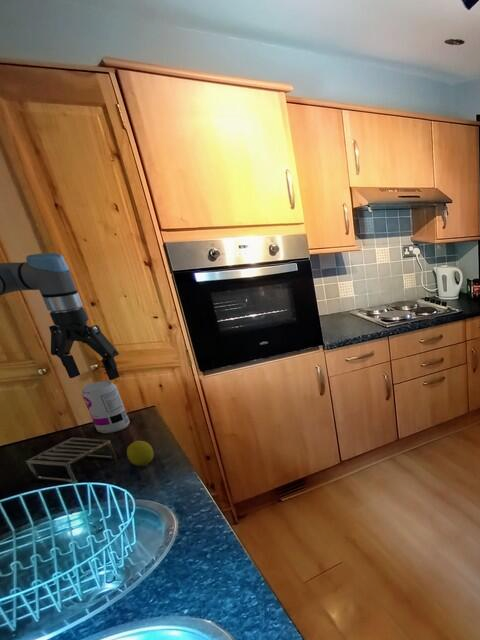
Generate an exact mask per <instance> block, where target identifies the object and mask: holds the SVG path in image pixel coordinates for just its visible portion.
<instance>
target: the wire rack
mask: <svg viewBox="0 0 480 640" xmlns="http://www.w3.org/2000/svg"><path fill="white" fill-rule="evenodd" d="M105 446H106V447H107V450H108V453H109V455H101V454H92V453H94V452H96V451H98V450H100V449H101V448H103V447H105ZM85 458H93V459H94V458H95V459H107V460H112V462H113V464H117V463H119V459H118V457H117V455H116V452H115V450H114V446H113V445H112V440H111V439H99V438H85V437H73V436H72V437H70V438H68V439H66V440H64V441H62V442H60V443H58V444H56V445H54V446H52V447H50V448H48V449H46V450H44V451H42V452H40V453H39V454H37V455H34V456H32V457H31V458H29V459H26V460H25V461H24V462H25V464H27V466H28V468H29V470H30V472H31V473H32V476H33V478H34V479H35V481H36V482H37V481H51V482H62V483H63V482H64V483H72V484H73V483H76V484H78V483H79V479H78V477H77V476H76V473H75V472H74V469H73V466H72V464H74V463H76V462H78V461H83V460H84V459H85ZM36 465H48V466H59V467H65V469H66V472H67V473H68V475H69V477H70V478H61V477H52V476H51V477H50V476H49V477H48V476H41V475H40V473H39V471H38V469H37V467H36Z"/></svg>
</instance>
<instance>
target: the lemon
mask: <svg viewBox="0 0 480 640" xmlns="http://www.w3.org/2000/svg"><path fill="white" fill-rule="evenodd" d="M154 455H155V454H154V449H153V447H152V445H151V444H150V443H148V442H147V441H145V440H134V441H133V442H132V443H130V444H129V445H128V446H127V449H126V456H127V459H128V461H129V462H130V463H131V464H133V465H134V466H142V467H146V466H147V465H148V464H149V463H151V462H152V460H153V459H154Z"/></svg>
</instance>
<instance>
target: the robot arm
mask: <svg viewBox="0 0 480 640" xmlns="http://www.w3.org/2000/svg"><path fill="white" fill-rule="evenodd" d="M25 260H26V261H23V262H0V296H3V295H6V294H10V293H14V292H19V291H20V292H21V291H39V293H40V295H41V296H42V300H43V302H44V304H45V307H46V309H47V311H49V316H50V318H51V321H52V322H53V324H52V325H49V327H48V328H49V331H50V354H51V355H52V356H57V357H58V358H59V359H60V361H61V363H62V366H63V367H64V368H65V371H66V373H67V375H68V378H69V379H73V378H76V377H79V376H81V372H80V370H79V368H78V366H77V363H76V361H75V359H74V356H73V355H72V353H71V350H72V348H73V345H74V342H81V343H83V344H86V345H87V346H88V347H90V348H91V349H92V350H93V351H94V352H95V353H97V355H99V356H100V357H101V358H102V359H101V363H102V365H103V368H104V370H105V373H106V375H107V377H108V381H113V380H115V379H118V378H120V373H119V371H118V368H117V367H118V364H117V363H116V360H115V357H118V356H119V355H120V352H119V351H118V349H116V348H115V347H114V345H113V344H112V343H111V341H109V339H108V338H107V337H106V336H105V334H104V333H103V332H102V330H101V328H100V326H99V325H98V324H95V325H91V326H89V325H88V323H87V322H88V321H89V316H88V314H87V311H86V309H85V308H84V307H83V306H84V304H83V301H82V299H81V297H80V294H79V292H78V289H77V287H76V284H75V282H74V279H73V276H72V273H71V269H70V267H69V266H68V264H67V262H66V260H65V257H64V256H63V254H60V253H56V252H47V253H33V254H28V255H26V256H25Z"/></svg>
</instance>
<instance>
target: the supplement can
mask: <svg viewBox="0 0 480 640" xmlns="http://www.w3.org/2000/svg"><path fill="white" fill-rule="evenodd" d="M81 396H82V398H83V400H84V403H85V406H86V408H87V411H88V413H89V415H90V418H91V419H92V422H93V425H94V427H95V429H96V431H97V432H99V433H101V434H112V433H116V432H119V431H122V430H124V429H126V428H128V426H129V425H130V419H129V416H128V413H127V411H126V408H125V406H124V403H123V400H122V397H121V395H120V393H119V390H118V388H117V385H116V384H115V383H113V382H112V380H101V381H94V382H92V383H88V384H86V385H84V386H83V387H82V390H81Z"/></svg>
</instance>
